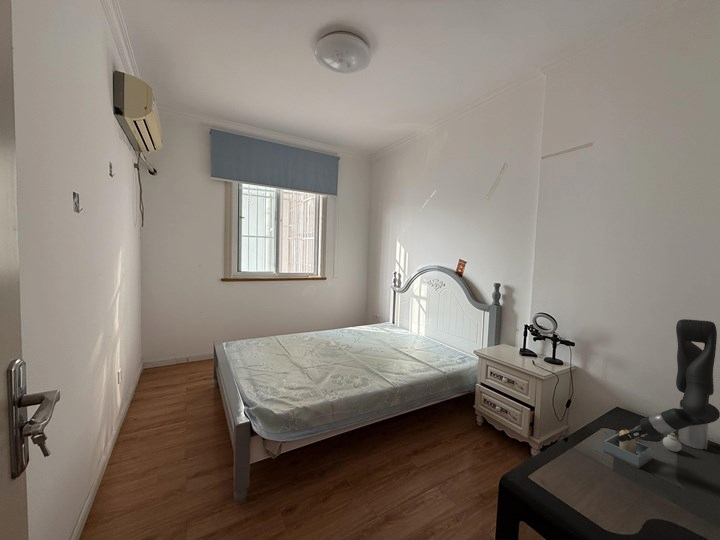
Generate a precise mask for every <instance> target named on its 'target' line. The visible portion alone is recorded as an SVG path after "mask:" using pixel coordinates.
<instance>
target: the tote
mask: <svg viewBox="0 0 720 540" xmlns="http://www.w3.org/2000/svg"><path fill="white" fill-rule="evenodd" d="M618 436H619V433H615V434H614V435H612V436H610V437H608V438H606V439H604V440H603V441H602V442H603V443H602V452H603V453H605V454H607V455H609V456H612V457H614V458H616V459H617V460H619V461H621V462H624V463H626V464H629V465H630V466H632V467H635V468H637V469H640V468H642V467H643V466H644V465H646V464H647V463H649V462H650V461H652V460H653V447H651V446H649V445H646V444H644V443H641V442H639V441H637V440H636V455H635V454H633V453H631V452H629V451H626V450H624V449H622V448H620V441H619V439H618V438H617V437H618ZM648 461H649V462H648Z"/></svg>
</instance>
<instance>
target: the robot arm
mask: <svg viewBox="0 0 720 540" xmlns="http://www.w3.org/2000/svg"><path fill="white" fill-rule="evenodd" d="M675 326H676V327H675V330H676V331H675V333H676V341H677V351H676V352H677V353H676V360H677V361H676V362H677V363H676V364H677V371H676V381H675V387H676V389H677V390H678V391H679V392H680V393H683V395H682V396H683V397H682V399H681V400H680V401H679V408H676V407H675V408H669V409H666V410H664V411H661V412H656V413H654V414H651V415H649V416H645V417H644V418H641V419H640V420H639V425H637V426H634V428H632V429H630V430H628V431H629V432H628V433H625V434H624V435H621V436H618V437H617V438H618V439H619V441H620V442H624V441H627V440H628V441H630V440H632V439H636V440H637V439H640V438H645V437H646V436H648V435H649V436H650V437H652V438H655V439H656V438H660V437H663V436H667V435H670V433H675V432H679V434H678V441H679V442H680V443H682V444H683V445H685V446H688V447H690V448H694V449H698V450H703V449H705V450H707V449H708V439H709V424H712V423H714V422H716V421H718V420H719V419H720V410H719V409H718V408H717V407H716V406H715V405H714V404H711V403H709V402H710V401H709V400H710V396H713V395H714V389H715V388H714V367H715V366H714V365H715V360H716V353H717V342H718V341H717V339H718V329H717V327H716V326H717V325H716V324H715V322H714V321H709V320H700V319H690V318H689V319H686V318H684V319H679V320H678V321H677V322H676V325H675ZM695 343H699V344H700V343H701V344H704V347H703V349H702V348H700V346H697V344H695ZM629 435H630V436H631V438H630V437H629ZM681 436H682V437H681ZM683 436H684V437H685V438H684V439H683Z"/></svg>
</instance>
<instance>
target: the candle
mask: <svg viewBox="0 0 720 540" xmlns="http://www.w3.org/2000/svg"><path fill="white" fill-rule="evenodd" d="M628 432H629V430H628V429H621V430H619V433H618V434H619V436H621V435H624V434H625V433H628ZM629 437H630V438H631V436H630V435H629ZM636 441H637V439H632V440H630V441H628V440H627V441H624V442H620V448H622V449H624V450H626V451H629V452H631V453H633V454H635V455H636Z"/></svg>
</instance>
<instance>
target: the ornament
mask: <svg viewBox="0 0 720 540" xmlns="http://www.w3.org/2000/svg"><path fill="white" fill-rule="evenodd" d="M677 433H678V435H679V431H677ZM681 437H682V436H681ZM684 438H685V437H684V436H683V439H684ZM681 443H682V442H680V441H679V439H678V437H677V436H676V433H675V432H673V433H670V434H667V435H666V436H665V437H664V438H663V439H662V444H663V446H664V447H665V448H666V449H667V450H669V451H671V452H675V453H676V452H680V451H681V450H682V447H683V446H682V444H681Z"/></svg>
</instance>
